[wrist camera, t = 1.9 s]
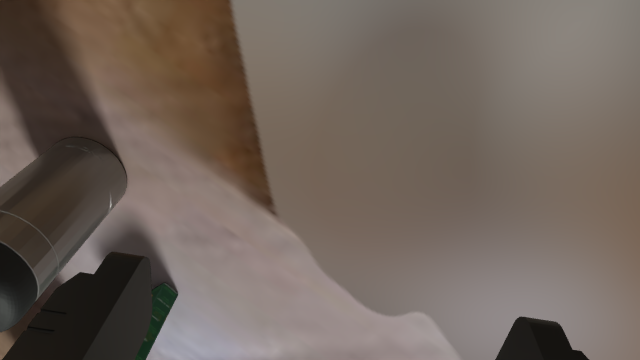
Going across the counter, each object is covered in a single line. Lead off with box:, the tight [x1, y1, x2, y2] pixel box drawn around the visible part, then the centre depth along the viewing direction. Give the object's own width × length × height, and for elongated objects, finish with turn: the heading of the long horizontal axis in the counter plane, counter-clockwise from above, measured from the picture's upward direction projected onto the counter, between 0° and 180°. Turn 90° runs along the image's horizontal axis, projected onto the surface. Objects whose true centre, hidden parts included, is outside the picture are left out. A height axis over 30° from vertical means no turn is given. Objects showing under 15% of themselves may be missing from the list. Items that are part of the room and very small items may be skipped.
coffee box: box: [135, 283, 178, 360], centre depth 59 cm, size 8×3×13 cm, turn 128°
